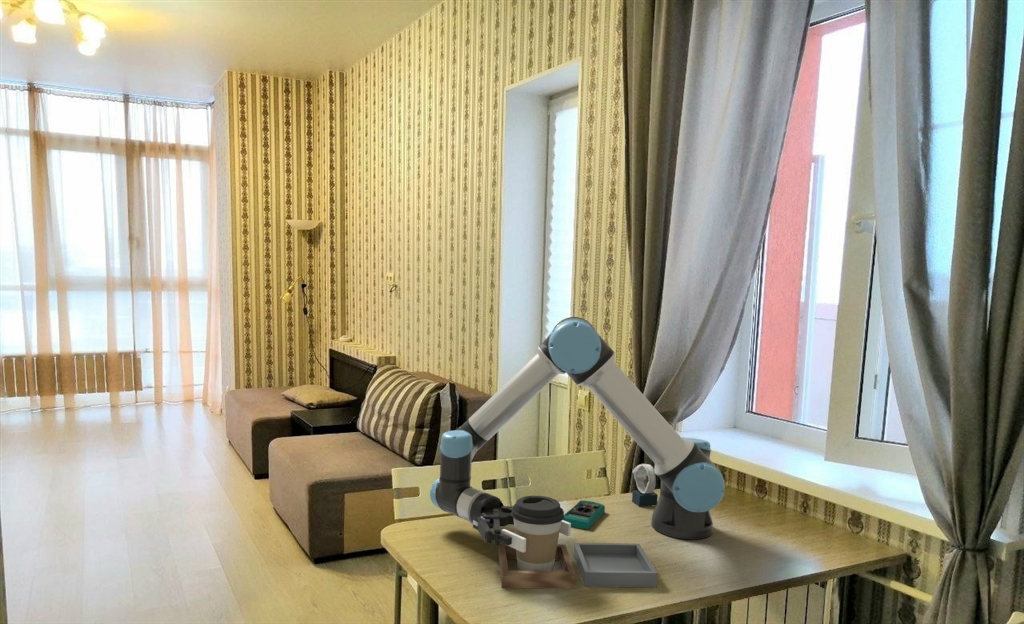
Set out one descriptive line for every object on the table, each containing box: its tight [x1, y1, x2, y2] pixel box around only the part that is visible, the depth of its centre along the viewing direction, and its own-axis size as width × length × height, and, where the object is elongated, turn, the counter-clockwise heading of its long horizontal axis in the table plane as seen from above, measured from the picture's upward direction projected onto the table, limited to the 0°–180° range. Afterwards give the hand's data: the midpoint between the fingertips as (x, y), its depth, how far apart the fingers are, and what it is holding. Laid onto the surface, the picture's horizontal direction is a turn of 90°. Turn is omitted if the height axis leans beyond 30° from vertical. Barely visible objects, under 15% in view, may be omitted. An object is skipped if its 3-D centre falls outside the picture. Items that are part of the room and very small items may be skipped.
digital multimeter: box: [563, 499, 606, 530], centre depth 178 cm, size 7×15×3 cm, turn 155°
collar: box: [498, 542, 577, 589], centre depth 145 cm, size 15×15×3 cm
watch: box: [631, 463, 659, 508], centre depth 191 cm, size 6×8×11 cm
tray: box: [572, 542, 658, 588], centre depth 147 cm, size 15×15×3 cm
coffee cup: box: [511, 495, 565, 571], centre depth 145 cm, size 11×11×15 cm
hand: (548, 537), depth 142 cm, fingers open, 13 cm apart
